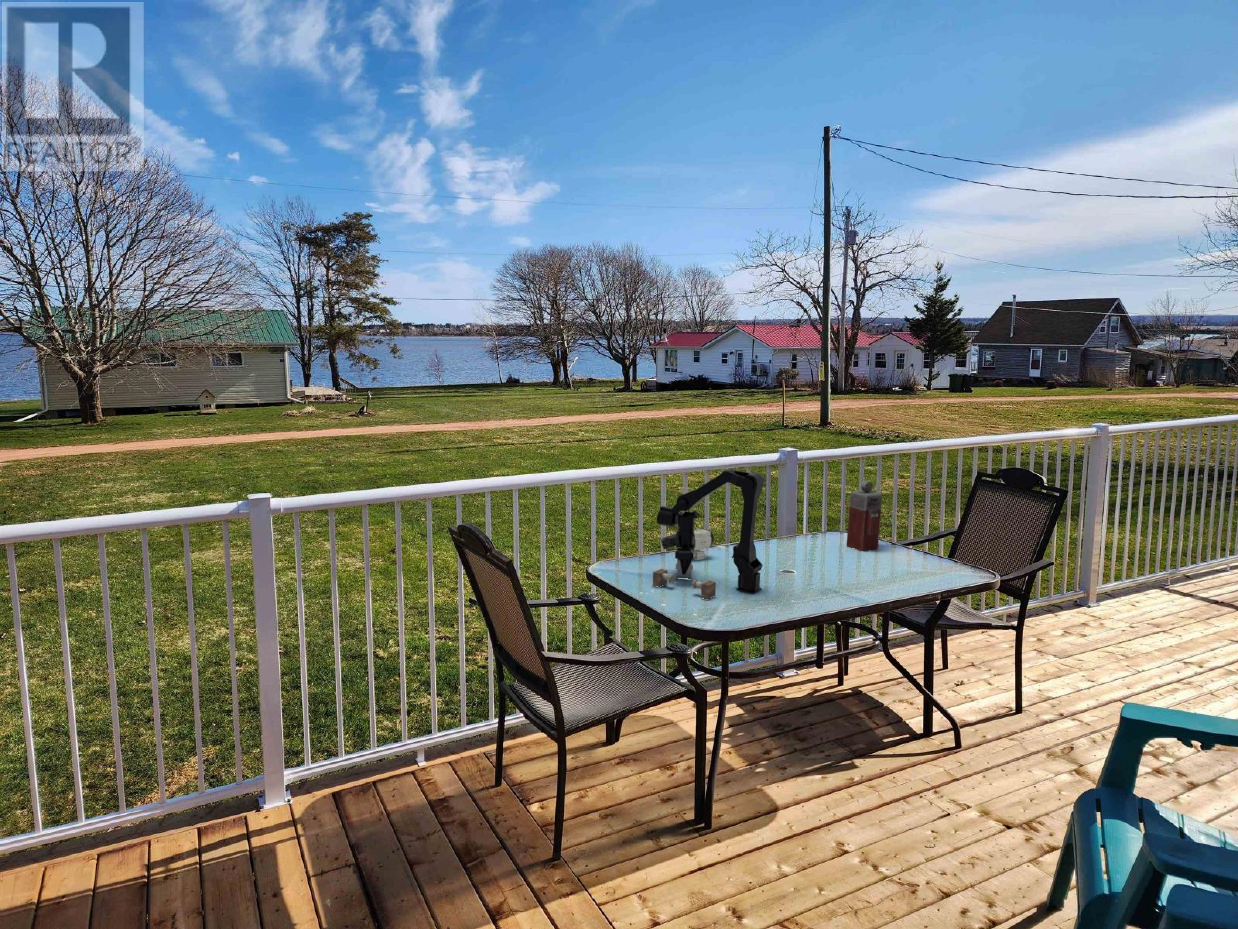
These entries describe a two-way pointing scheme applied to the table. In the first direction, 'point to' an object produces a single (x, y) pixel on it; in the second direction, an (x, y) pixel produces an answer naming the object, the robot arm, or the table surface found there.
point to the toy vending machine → (864, 518)
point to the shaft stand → (706, 588)
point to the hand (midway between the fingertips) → (684, 572)
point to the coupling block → (679, 570)
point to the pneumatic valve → (702, 542)
